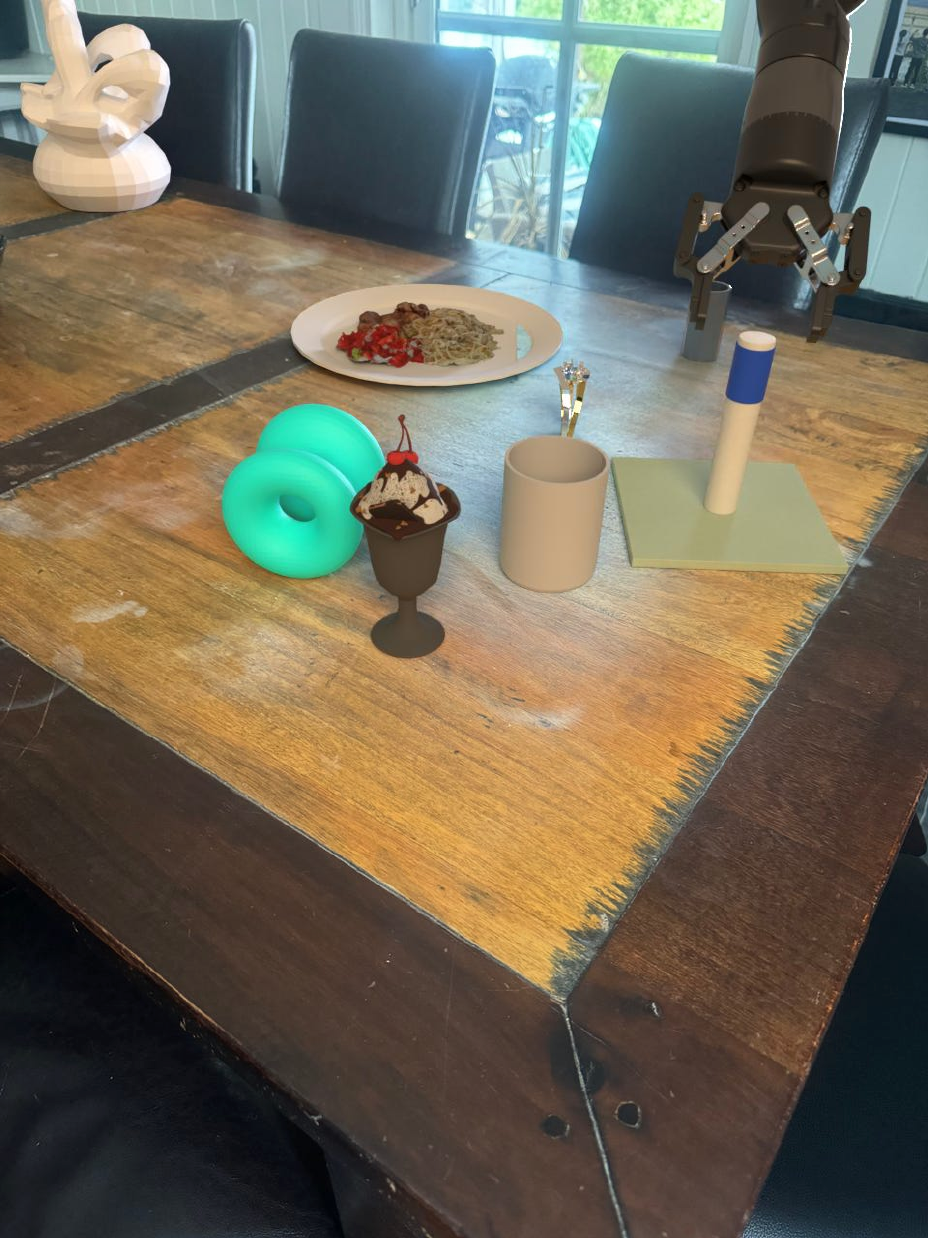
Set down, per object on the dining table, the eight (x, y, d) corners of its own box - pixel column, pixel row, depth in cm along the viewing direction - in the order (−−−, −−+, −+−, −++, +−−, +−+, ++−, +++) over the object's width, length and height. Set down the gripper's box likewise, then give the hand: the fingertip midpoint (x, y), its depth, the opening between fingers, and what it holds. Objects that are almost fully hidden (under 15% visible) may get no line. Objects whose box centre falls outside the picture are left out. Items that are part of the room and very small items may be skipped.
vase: (193, 216, 142) (151, -65, 120) (39, 226, 135) (-34, -69, 114) (174, 175, 163) (136, -70, 141) (41, 182, 157) (-21, -74, 135)
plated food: (596, 324, 108) (600, 295, 106) (497, 423, 86) (499, 390, 84) (375, 284, 118) (374, 257, 116) (236, 365, 96) (232, 334, 94)
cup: (488, 585, 66) (493, 475, 60) (517, 516, 73) (524, 413, 68) (587, 602, 64) (602, 492, 59) (606, 530, 72) (621, 426, 66)
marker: (733, 498, 75) (772, 330, 66) (740, 516, 72) (782, 345, 64) (699, 497, 75) (733, 329, 66) (705, 515, 73) (742, 343, 64)
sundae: (416, 593, 65) (413, 394, 56) (477, 640, 61) (485, 434, 51) (338, 629, 61) (321, 423, 52) (397, 681, 57) (390, 468, 48)
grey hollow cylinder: (713, 353, 102) (727, 280, 97) (719, 367, 99) (734, 292, 94) (678, 352, 102) (690, 279, 97) (683, 366, 99) (696, 291, 94)
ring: (580, 466, 80) (589, 380, 75) (543, 463, 80) (551, 377, 75) (583, 431, 86) (592, 349, 81) (548, 428, 86) (556, 346, 81)
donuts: (226, 578, 66) (204, 453, 60) (270, 508, 73) (256, 391, 67) (361, 593, 65) (353, 468, 58) (391, 520, 72) (388, 403, 66)
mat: (792, 471, 80) (794, 462, 80) (846, 575, 68) (849, 566, 67) (611, 464, 81) (612, 456, 80) (631, 567, 68) (632, 558, 67)
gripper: (701, 101, 70) (665, 299, 68) (897, 114, 67) (865, 320, 65) (693, 163, 77) (661, 343, 75) (869, 176, 75) (840, 363, 73)
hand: (756, 332), depth 70 cm, fingers open, 8 cm apart
